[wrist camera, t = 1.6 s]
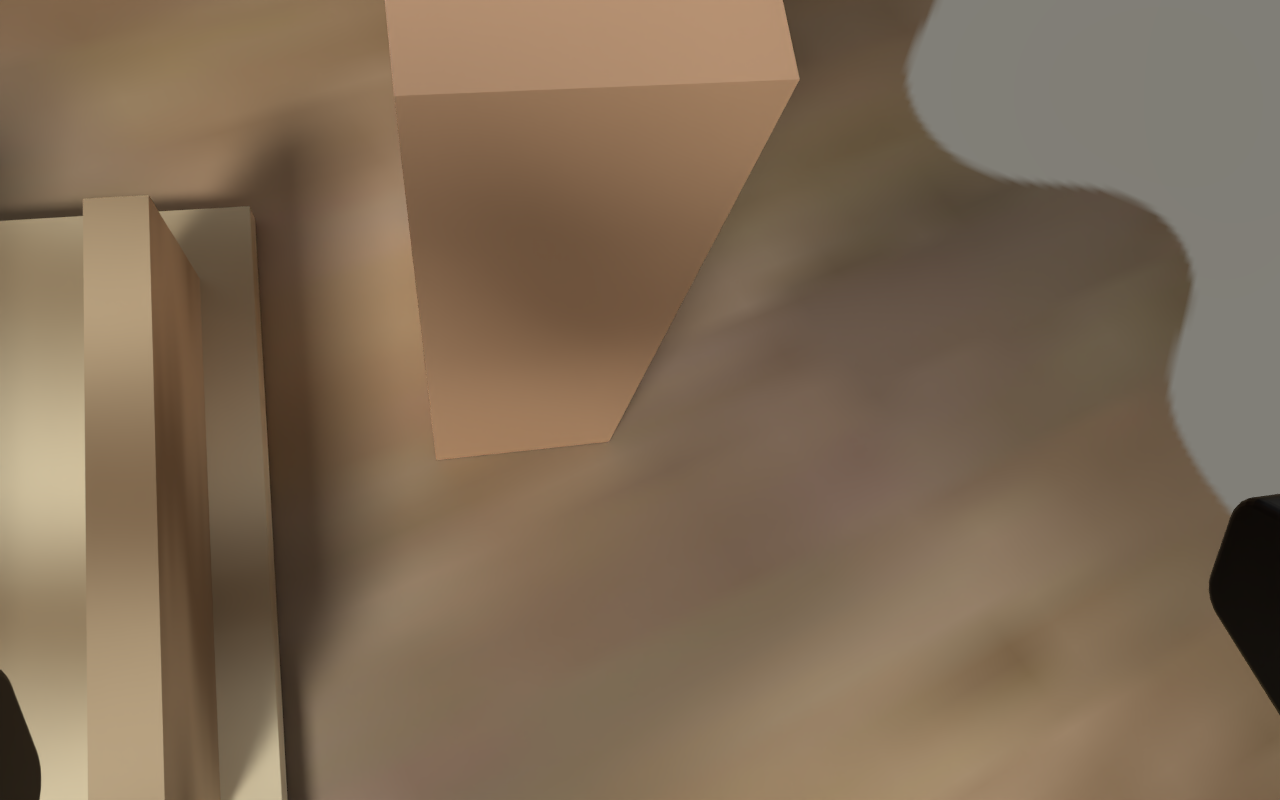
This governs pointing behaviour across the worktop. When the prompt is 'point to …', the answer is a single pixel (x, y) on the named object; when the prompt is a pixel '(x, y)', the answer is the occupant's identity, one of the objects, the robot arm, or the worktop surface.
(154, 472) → the drying rack
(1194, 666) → the worktop surface
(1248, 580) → the robot arm
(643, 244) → the tan rectangular block
